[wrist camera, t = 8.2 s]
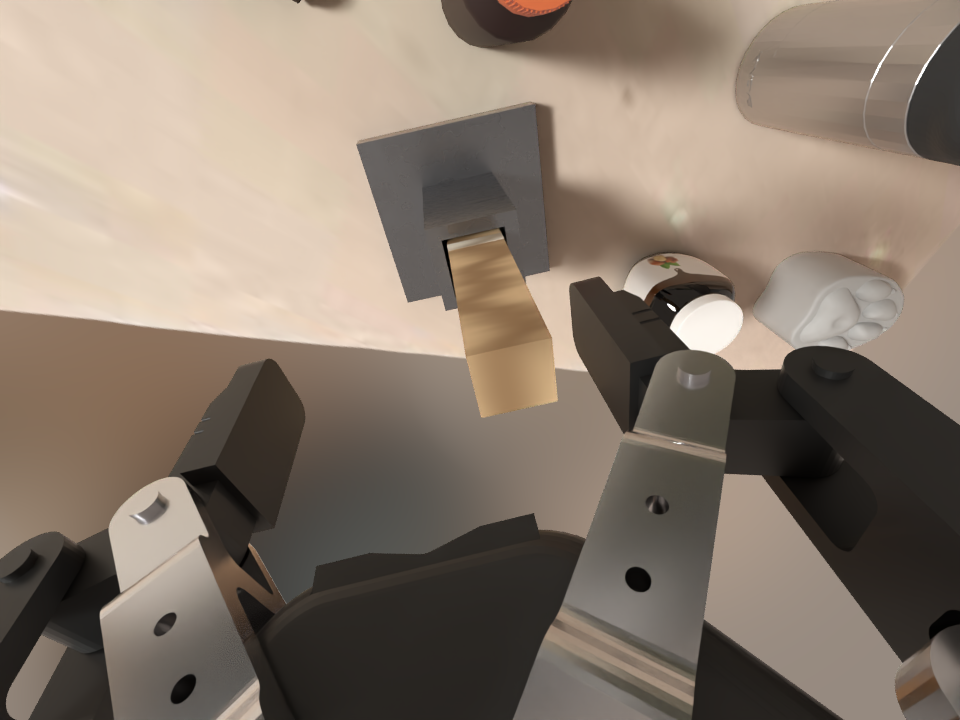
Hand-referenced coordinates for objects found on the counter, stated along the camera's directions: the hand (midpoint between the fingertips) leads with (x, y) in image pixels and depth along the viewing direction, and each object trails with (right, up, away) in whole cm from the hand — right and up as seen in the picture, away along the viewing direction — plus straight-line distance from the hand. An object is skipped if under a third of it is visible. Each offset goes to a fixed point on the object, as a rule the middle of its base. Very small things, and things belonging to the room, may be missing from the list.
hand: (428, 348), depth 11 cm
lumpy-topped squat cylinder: (+44, +9, +43) cm, 62 cm away
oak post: (+1, +10, +25) cm, 27 cm away
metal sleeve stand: (0, +15, +31) cm, 35 cm away
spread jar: (+22, +8, +40) cm, 47 cm away
